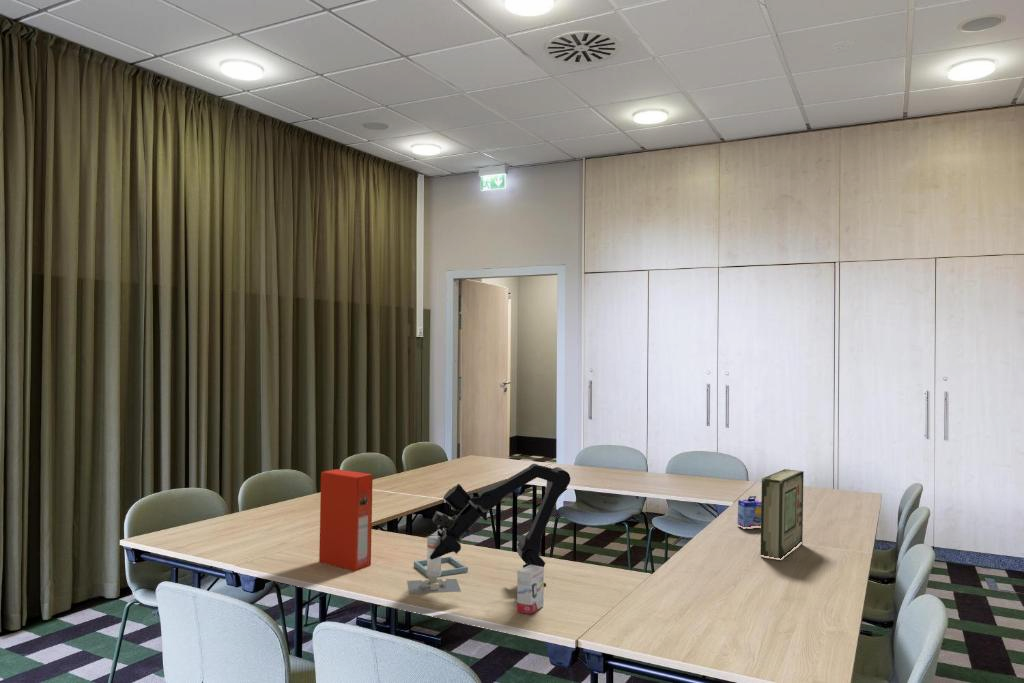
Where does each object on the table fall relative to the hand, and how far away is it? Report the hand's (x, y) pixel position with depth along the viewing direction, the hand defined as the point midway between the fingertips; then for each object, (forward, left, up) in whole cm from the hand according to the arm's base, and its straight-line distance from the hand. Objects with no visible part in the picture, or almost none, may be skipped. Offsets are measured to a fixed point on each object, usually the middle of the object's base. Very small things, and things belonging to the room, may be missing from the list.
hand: (429, 556), depth 220 cm
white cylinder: (-1, 0, -6) cm, 6 cm away
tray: (-10, -15, -10) cm, 21 cm away
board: (-1, 0, -10) cm, 11 cm away
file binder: (+17, -37, -11) cm, 42 cm away
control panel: (-142, +19, -11) cm, 144 cm away
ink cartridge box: (-159, -12, -11) cm, 160 cm away
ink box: (-20, +28, -11) cm, 37 cm away
